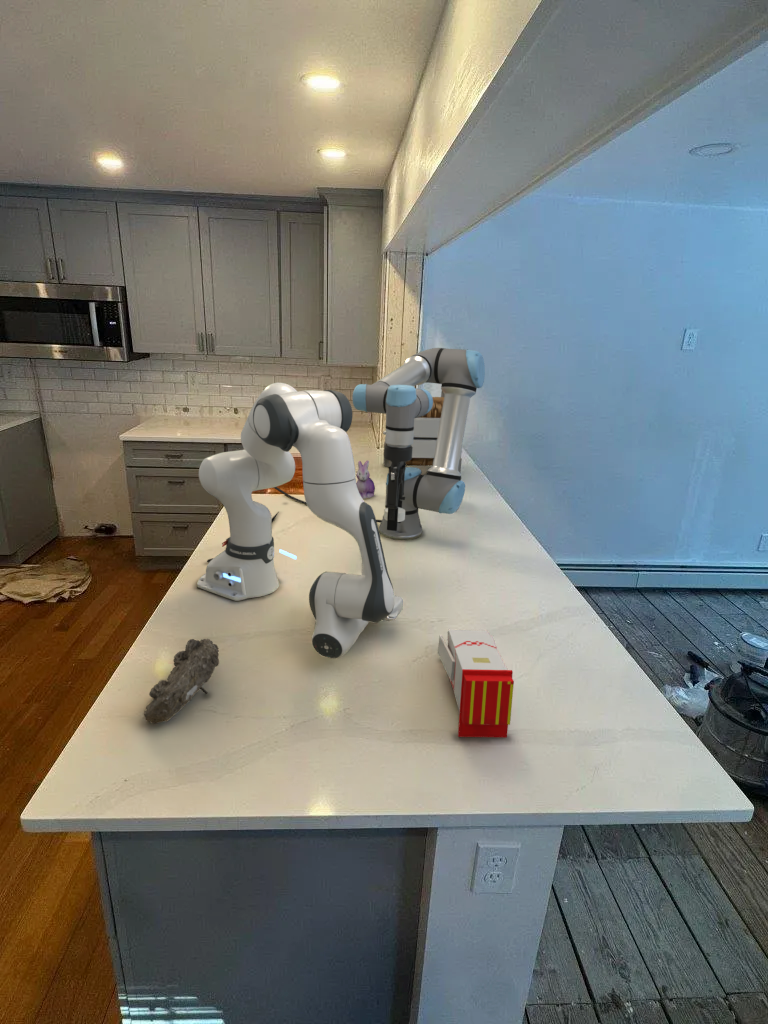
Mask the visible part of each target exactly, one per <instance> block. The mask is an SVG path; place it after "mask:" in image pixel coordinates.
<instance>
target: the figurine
mask: <svg viewBox="0 0 768 1024" xmlns="http://www.w3.org/2000/svg"><path fill="white" fill-rule="evenodd" d="M369 465H370V461H369V460H366V461H365V462H364V464H363V463H362V461H361V460H358V462H357V468H358V470H357V472H356V473H355V476H356V485H357V488H358V491H359V493H360V495H361V497H362V499H363V500H364V499H370V498H373V497H374V496H375V492H376V486H375V482H374V480H373V479H372V478H371V477H370V476H371V474H370V471H369V469H368V468H369Z"/></svg>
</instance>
